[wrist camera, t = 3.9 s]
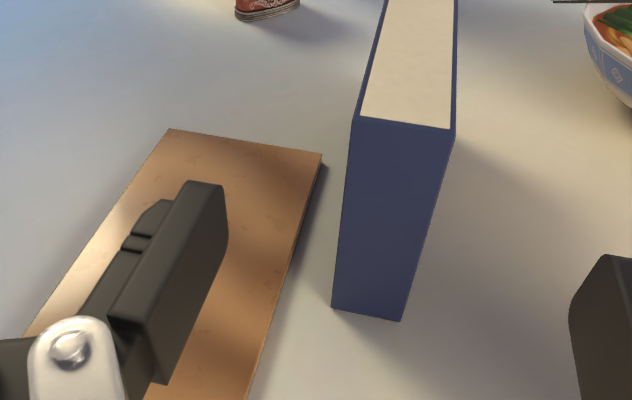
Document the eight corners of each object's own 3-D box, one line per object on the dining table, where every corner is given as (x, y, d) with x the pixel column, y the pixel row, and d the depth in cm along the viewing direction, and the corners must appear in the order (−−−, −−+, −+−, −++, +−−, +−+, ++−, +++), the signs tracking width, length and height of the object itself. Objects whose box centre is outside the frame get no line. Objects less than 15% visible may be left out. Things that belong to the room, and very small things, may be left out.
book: (401, 322, 28) (457, 135, 19) (329, 308, 29) (350, 118, 20) (421, 119, 42) (460, -45, 33) (373, 112, 43) (397, -52, 34)
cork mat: (238, 428, 24) (236, 421, 23) (6, 373, 25) (0, 365, 25) (321, 161, 38) (322, 153, 37) (170, 136, 39) (168, 127, 39)
